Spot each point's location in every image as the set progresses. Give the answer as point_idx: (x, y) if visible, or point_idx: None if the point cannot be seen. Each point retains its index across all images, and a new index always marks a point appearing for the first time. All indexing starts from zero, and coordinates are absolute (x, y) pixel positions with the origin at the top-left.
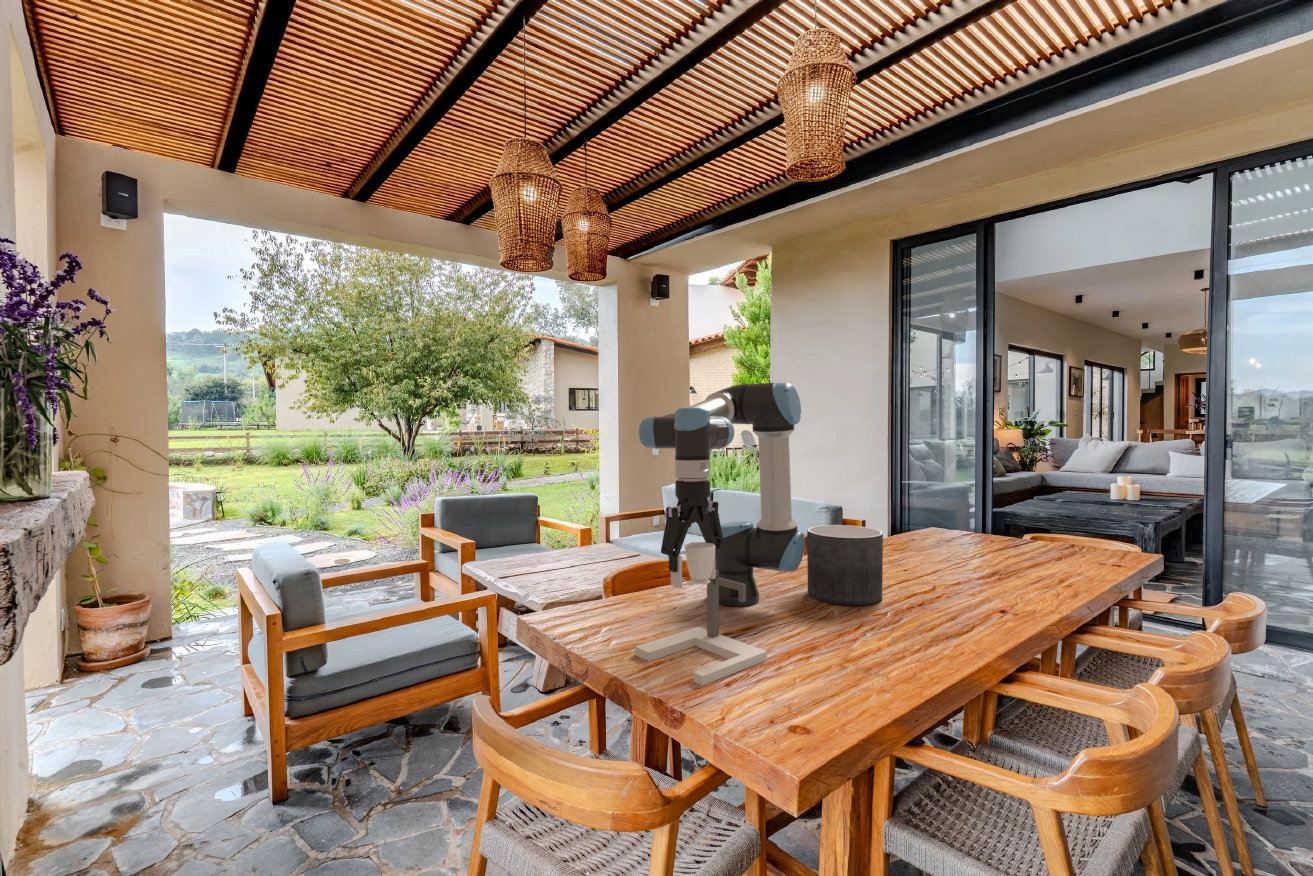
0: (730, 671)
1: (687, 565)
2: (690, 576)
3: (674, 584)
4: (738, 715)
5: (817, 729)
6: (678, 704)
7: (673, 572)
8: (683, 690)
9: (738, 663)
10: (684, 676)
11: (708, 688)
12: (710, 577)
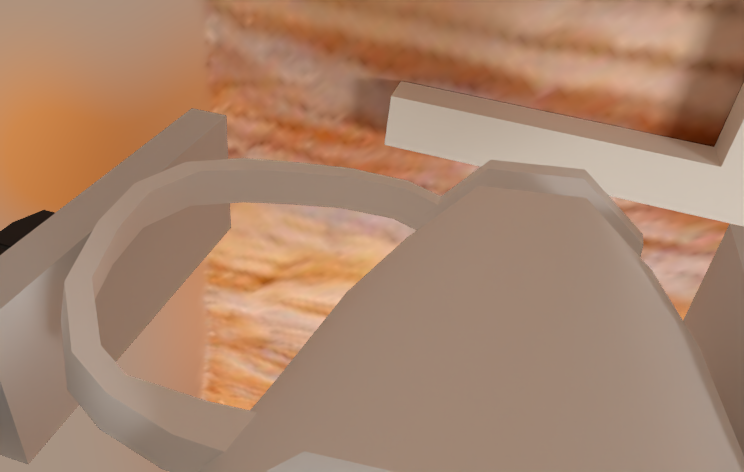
0: None
1: (439, 229)
2: (423, 226)
3: None
4: (309, 306)
5: None
6: (228, 137)
7: None
8: (316, 90)
9: (617, 194)
10: (423, 12)
11: (394, 156)
12: (693, 311)
